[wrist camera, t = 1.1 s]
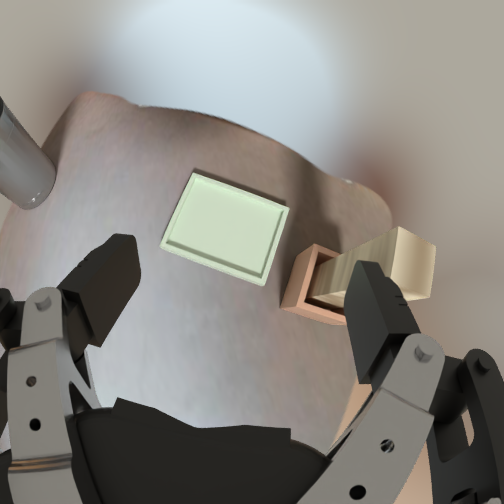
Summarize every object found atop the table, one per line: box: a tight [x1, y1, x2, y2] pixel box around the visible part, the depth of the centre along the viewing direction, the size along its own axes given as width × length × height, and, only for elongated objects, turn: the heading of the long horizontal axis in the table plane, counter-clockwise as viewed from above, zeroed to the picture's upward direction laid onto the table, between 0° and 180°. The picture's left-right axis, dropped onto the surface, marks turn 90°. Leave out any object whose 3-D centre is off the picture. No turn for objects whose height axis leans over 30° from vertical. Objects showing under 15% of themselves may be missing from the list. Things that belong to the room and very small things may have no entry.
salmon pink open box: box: [280, 244, 347, 325], centre depth 34 cm, size 7×7×7 cm
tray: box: [160, 173, 289, 286], centre depth 36 cm, size 14×11×2 cm
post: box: [304, 226, 436, 309], centre depth 27 cm, size 4×4×20 cm
